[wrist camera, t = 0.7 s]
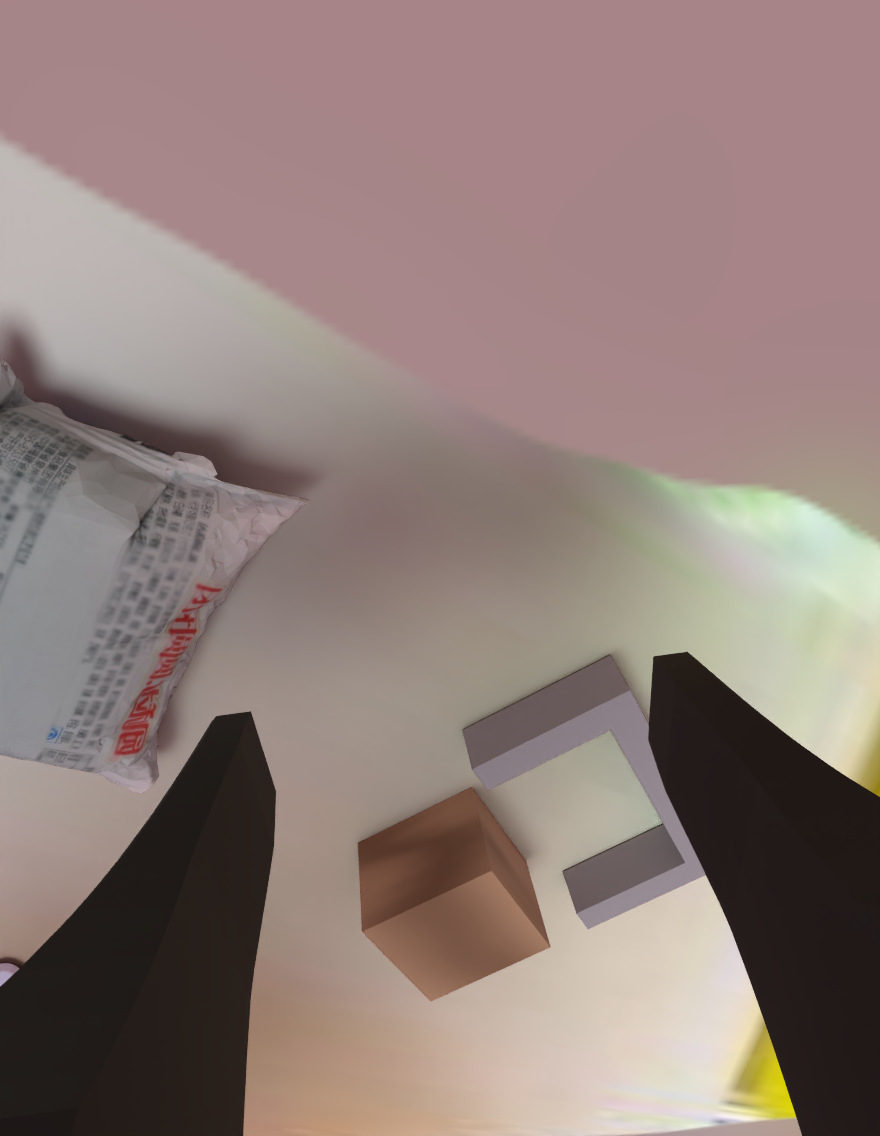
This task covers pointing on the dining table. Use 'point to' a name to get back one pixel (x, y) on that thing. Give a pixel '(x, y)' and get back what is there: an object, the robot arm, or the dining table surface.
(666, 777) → the robot arm
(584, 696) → the purple-grey c-shaped block
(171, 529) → the packaged food
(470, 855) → the wooden cube block
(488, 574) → the dining table surface
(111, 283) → the dining table surface
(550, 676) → the dining table surface
